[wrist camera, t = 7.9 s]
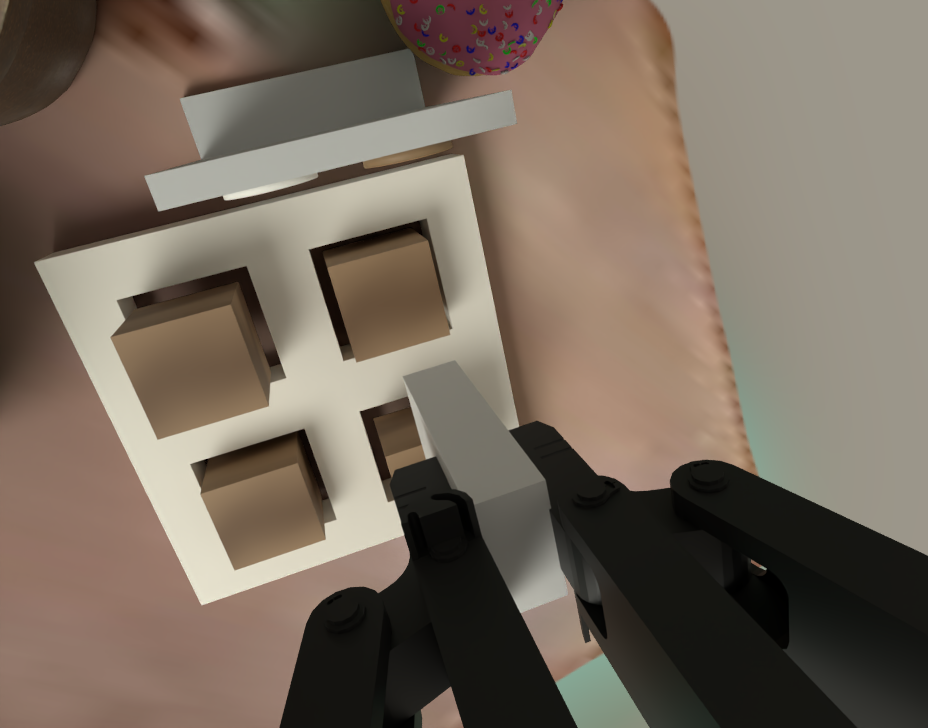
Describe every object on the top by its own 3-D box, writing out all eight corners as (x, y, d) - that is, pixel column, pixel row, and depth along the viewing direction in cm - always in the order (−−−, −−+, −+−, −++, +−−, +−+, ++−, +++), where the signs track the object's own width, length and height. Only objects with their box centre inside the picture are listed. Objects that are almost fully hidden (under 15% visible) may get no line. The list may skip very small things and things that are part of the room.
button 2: (134, 309, 29) (110, 337, 25) (238, 281, 30) (230, 304, 26) (174, 400, 31) (157, 439, 27) (270, 371, 32) (268, 406, 28)
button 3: (373, 418, 34) (385, 457, 30) (457, 392, 35) (479, 426, 31) (395, 491, 36) (409, 536, 32) (474, 465, 37) (498, 505, 33)
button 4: (322, 251, 33) (327, 267, 29) (410, 227, 34) (427, 240, 30) (348, 335, 35) (356, 362, 31) (431, 311, 35) (450, 334, 31)
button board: (52, 252, 30) (33, 262, 28) (451, 153, 33) (463, 155, 31) (206, 577, 38) (201, 605, 35) (518, 471, 41) (532, 490, 39)
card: (182, 99, 29) (102, 71, 17) (409, 49, 31) (494, -9, 18) (214, 188, 31) (163, 225, 18) (428, 136, 33) (519, 137, 20)
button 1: (210, 451, 35) (200, 494, 31) (296, 425, 36) (297, 463, 32) (240, 522, 37) (234, 570, 33) (321, 495, 37) (325, 539, 33)
